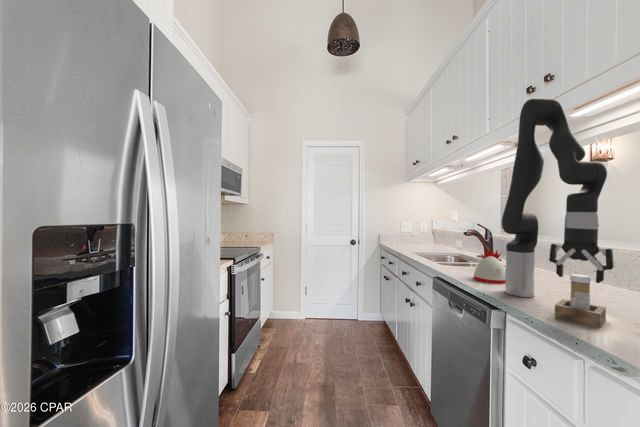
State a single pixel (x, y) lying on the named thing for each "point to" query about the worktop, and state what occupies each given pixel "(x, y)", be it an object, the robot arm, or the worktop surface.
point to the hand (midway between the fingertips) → (578, 279)
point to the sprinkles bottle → (580, 291)
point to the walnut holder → (581, 314)
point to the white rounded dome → (490, 269)
